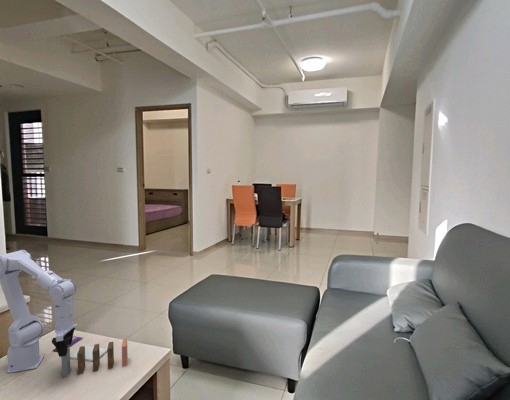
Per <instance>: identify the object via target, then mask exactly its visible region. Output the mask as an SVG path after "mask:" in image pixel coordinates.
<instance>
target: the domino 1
mask: <svg viewBox="0 0 510 400" xmlns="http://www.w3.org/2000/svg"><path fill="white" fill-rule="evenodd" d="M70 354H71V347H69V348H68V349H67V354H66V356H62V357H60V358H61V377H62V378H68V376H69V373H70V371H71V369H72V368H71V359H70Z"/></svg>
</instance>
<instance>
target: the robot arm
mask: <svg viewBox="0 0 510 400" xmlns="http://www.w3.org/2000/svg"><path fill="white" fill-rule="evenodd" d="M22 271H23V272H24V273H27V274H28V275H30V276H32V277H34V278H35V279H36V283H37V284H38V285H39V286H40V287H42V288H44V289H45V290H46V291H47V292H49V293H48V294H49V296H50V299H51V300H52V304H53V306H54V323H55V324H54V326H55V327H54V333H55V337H52V339H51V344H52V345H53V346H54V347H55V348H56V349H57V351H56V353H57V354H58V356H59V358H61V357H62V356H66V354H67V348H68V345H71V343H72V339H73V337H74V333H75V330H76V328H77V327H78V323H76V322H74V294H75V293H76V291H77V285H76V283H75V282H74V280H72V279H70V278H69V279H66V278H63V277H60V276H59V275H57V274H56V273H55V272H54V271H53V270H45V269H44V268H42V267H41V266H40V265H38V264H37V263H36V262H35V261H34V260H33V259H32V255H31V253H29V252H28V251H27V250H25V249H19V250H16V251H13V252H8V253H5V254H4V253H3V254H0V287H1V289H2V292H3V295H4V298H5V301H6V303H7V306H8V309H9V312H10V315H11V317H12V323H11V324H10V326H9V328H8V329H7V333H8V342H9V344H10V345H9V346H8V348H7V349H8V350H7V353H6V359H7V371H6V373H7V374H9V373H16V372H23V371H27V370H34V369H38V367H39V365H40V364H41V363H42V361H43V359H44V355H40V339H41V335H43V334H44V331H45V327H44V324H43V322H41V320H40V318H39V316H36V315H33V314H31V312H30V310H29V306H28V303H27V301H26V298H25V296H24V293H23V290H22V287H21V285H20V284H21V283H20V282H19V278H18V276H19V274H20V273H21V272H22Z"/></svg>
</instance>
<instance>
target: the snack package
mask: <svg viewBox="0 0 510 400" xmlns="http://www.w3.org/2000/svg"><path fill="white" fill-rule="evenodd" d="M82 339H83V337H81V336H75V335H73V339H72V343H71V345H68V348H71V347H73V345H74V346H75V344H77V343H78V342H80V341H81V340H82ZM68 348H67V349H68ZM52 351H53V352H57V349H56V347H55V348H53V349H52Z"/></svg>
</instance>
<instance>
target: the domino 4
mask: <svg viewBox="0 0 510 400" xmlns="http://www.w3.org/2000/svg"><path fill="white" fill-rule="evenodd" d="M106 349H107V353H106V354H107V356H106V358H107V370H113V368H114V362H115V353H114V341H109V342H108V345H107V347H106Z"/></svg>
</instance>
